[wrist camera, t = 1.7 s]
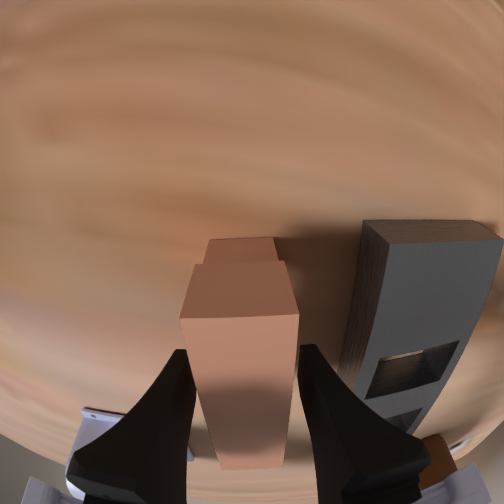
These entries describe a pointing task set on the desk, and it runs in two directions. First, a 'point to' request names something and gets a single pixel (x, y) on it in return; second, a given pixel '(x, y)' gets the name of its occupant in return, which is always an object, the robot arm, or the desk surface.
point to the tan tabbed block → (243, 349)
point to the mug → (436, 462)
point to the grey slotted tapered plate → (414, 311)
